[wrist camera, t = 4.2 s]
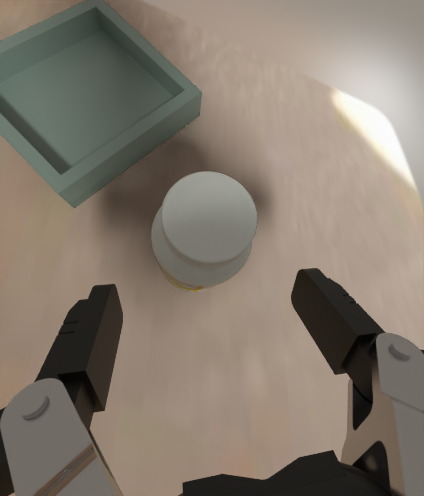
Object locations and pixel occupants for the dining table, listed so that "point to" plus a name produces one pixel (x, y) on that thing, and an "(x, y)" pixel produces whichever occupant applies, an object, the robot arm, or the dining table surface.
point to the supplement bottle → (203, 230)
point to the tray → (88, 98)
